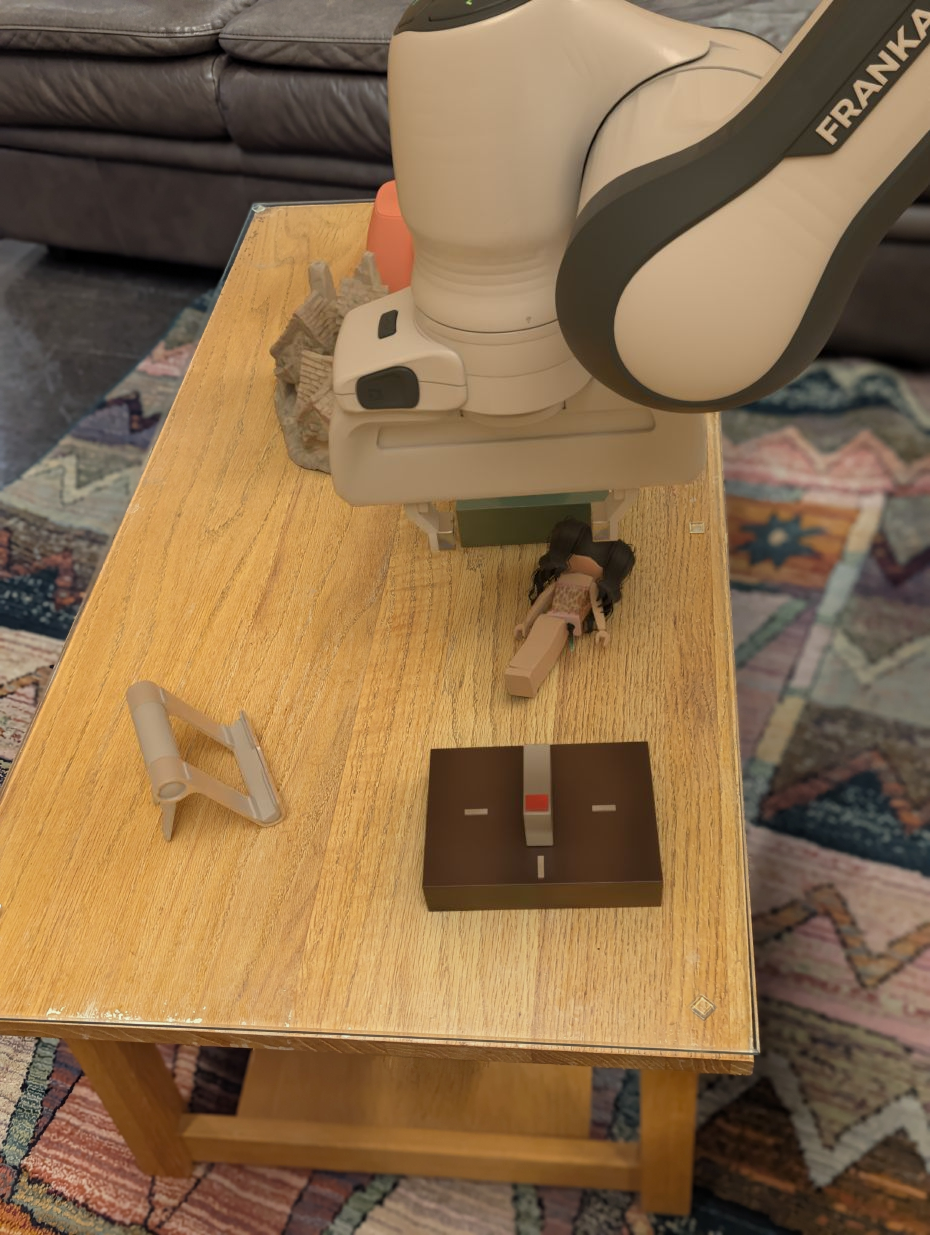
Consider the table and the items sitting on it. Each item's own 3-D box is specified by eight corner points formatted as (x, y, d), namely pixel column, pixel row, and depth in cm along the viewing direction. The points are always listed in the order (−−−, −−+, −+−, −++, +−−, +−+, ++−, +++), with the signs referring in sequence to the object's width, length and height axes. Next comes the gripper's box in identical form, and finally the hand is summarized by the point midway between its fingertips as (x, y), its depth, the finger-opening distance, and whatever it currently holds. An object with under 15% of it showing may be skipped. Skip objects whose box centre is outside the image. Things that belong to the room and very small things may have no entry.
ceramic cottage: (325, 347, 109) (291, 211, 97) (458, 396, 102) (439, 256, 90) (222, 440, 101) (172, 306, 90) (358, 501, 94) (323, 363, 83)
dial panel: (646, 767, 71) (648, 739, 69) (661, 906, 64) (663, 880, 62) (435, 774, 72) (430, 746, 70) (428, 912, 65) (421, 886, 63)
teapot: (498, 234, 121) (489, 124, 113) (496, 332, 108) (486, 216, 99) (381, 243, 123) (363, 136, 114) (365, 341, 109) (343, 228, 100)
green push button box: (602, 460, 93) (602, 402, 88) (610, 539, 86) (610, 481, 82) (464, 468, 94) (457, 411, 89) (460, 547, 87) (452, 490, 83)
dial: (526, 776, 68) (523, 741, 65) (552, 776, 68) (549, 740, 65) (526, 846, 64) (522, 812, 62) (553, 846, 64) (550, 811, 61)
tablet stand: (288, 819, 71) (258, 744, 65) (173, 868, 69) (130, 796, 63) (252, 727, 76) (221, 649, 70) (145, 770, 75) (103, 694, 69)
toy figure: (595, 715, 75) (644, 560, 83) (581, 658, 70) (635, 501, 79) (498, 702, 77) (556, 553, 86) (479, 646, 73) (542, 495, 82)
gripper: (711, 284, 55) (695, 492, 65) (314, 316, 56) (359, 514, 66) (731, 355, 50) (710, 566, 60) (300, 388, 52) (350, 588, 62)
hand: (523, 539), depth 63 cm, fingers open, 8 cm apart
